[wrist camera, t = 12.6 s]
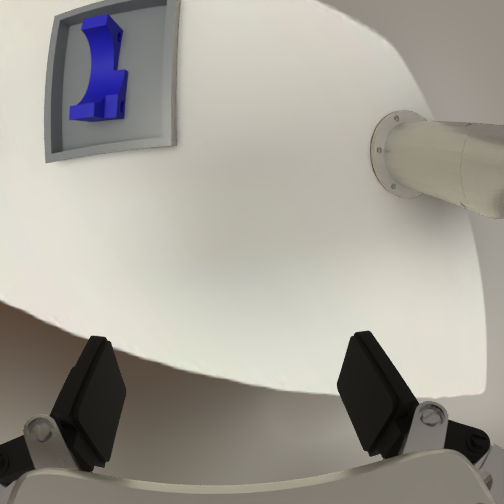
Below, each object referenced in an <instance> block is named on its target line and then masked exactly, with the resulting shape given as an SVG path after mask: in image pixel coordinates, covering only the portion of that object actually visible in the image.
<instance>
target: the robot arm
mask: <svg viewBox="0 0 504 504" xmlns="http://www.w3.org/2000/svg"><path fill="white" fill-rule="evenodd" d="M371 160H372V164H373V169H374V171H375V174H376V176H377V178H378V179H379V181H380V183H381V184H382V185H383V186H384V187H385V188H386V189H387V190H388V191H389V192H391V193H392V194H395V195H397V196H400V197H403V198H413V197H417V196H420V195H422V194H423V193H425V194H428V195H430V196H433V197H436V198H439V199H442V200H444V201H447V202H450V203H453V204H455V205H458V206H460V207H463V208H466V209H468V210H471V211H473V212H476V213H478V214H481V215H483V216H486V217H489V218H493V219H503V218H504V125H494V124H481V123H465V122H441V121H427V120H426V119H425V118H424V117H422V116H420V115H419V114H417V113H414V112H412V111H397V112H393V113H391V114H389V115H387V116H386V117H385V118H384V119H383V120H382V121H381V122H380V123H379V125H378V126H377V128H376V130H375V132H374V135H373V139H372V143H371ZM337 389H338V392H339V394H340V396H341V398H342V401H343V403H344V405H345V408H346V410H347V412H348V415H349V417H350V419H351V422H352V424H353V426H354V428H355V431H356V433H357V436H358V438H359V440H360V443H361V445H362V447H363V450H364V451H368V453H369V456H375V455H378V454H381V455H382V457H383V460H382V461H378V462H375V463H372V464H368V465H364V466H360V467H356V468H352V469H348V470H344V471H340V472H335V473H331V474H326V475H320V476H315V477H309V478H303V479H297V480H290V481H282V482H273V483H263V484H250V485H228V486H227V485H226V486H201V485H200V486H199V485H177V484H164V483H153V482H146V481H138V480H131V479H124V478H117V477H112V476H106V475H101V474H96V473H93V472H92V471H93V469H94V466H98V467H103V468H104V467H105V463H106V462H108V461H109V460H110V457H111V452H112V448H113V443H114V439H115V435H116V431H117V427H118V423H119V419H120V415H121V412H122V408H123V404H124V400H125V397H126V387H125V384H124V382H123V379H122V376H121V373H120V370H119V367H118V364H117V361H116V357H115V354H114V351H113V347H112V344H111V342H110V341H107V339H106V337H101V336H91V337H90V338H89V340H88V342H87V344H86V346H85V348H84V350H83V352H82V354H81V356H80V357H79V359H78V361H77V363H76V366H74V367H73V368H72V369H71V371H70V373H69V375H68V377H67V379H66V381H65V383H64V385H63V388H62V390H61V392H60V394H59V396H58V398H57V400H56V402H55V405H54V407H53V409H52V411H51V414H50V416H48V415H44V414H39V415H35V416H33V417H31V418H30V419H29V420H28V421H27V422H26V424H25V425H24V429H23V432H24V435H22V436H20V437H18V438H15V439H13V440H11V441H8V442H6V443H4V444H1V445H0V504H504V449H502V448H501V447H499V446H498V445H496V444H493V445H490V439H489V437H488V435H487V434H486V433H485V432H484V431H482V430H480V429H477V428H474V427H470V426H467V425H464V424H460V423H457V422H454V421H451V420H448V414H447V411H446V410H445V408H444V407H443V406H441V405H440V404H438V403H436V402H432V401H426V402H423V403H421V404H419V403H418V401H417V399H416V398H415V396H414V395H413V393H412V392H411V390H410V389H409V387H408V386H407V384H406V383H405V381H404V380H403V378H402V377H401V375H400V374H399V372H398V371H397V369H396V368H395V366H394V365H393V363H392V362H391V360H390V359H389V357H388V356H387V355H386V353H385V352H384V350H383V349H382V347H381V346H380V344H379V343H378V342H377V340H376V339H375V337H374V336H373V334H372V333H371V332H370V331H362V332H356V333H355V334H354V336H351V338H350V341H349V344H348V348H347V352H346V355H345V358H344V362H343V365H342V368H341V372H340V375H339V378H338V381H337Z"/></svg>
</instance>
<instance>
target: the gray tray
mask: <svg viewBox="0 0 504 504" xmlns="http://www.w3.org/2000/svg"><path fill="white" fill-rule="evenodd" d="M179 13H180V0H104V1H100V2H97V3H93V4H90V5H86V6H83V7H80V8H77V9H74V10H71V11H68V12H65V13H62V14H59V15H57V16H55V18H54V23H53V28H52V34H51V40H50V46H49V54H48V62H47V72H46V84H45V104H44V140H45V161H46V163H51V162H56V161H61V160H66V159H72V158H77V157H83V156H89V155H95V154H102V153H109V152H116V151H124V150H133V149H142V148H152V147H163V146H175V145H177V143H176V74H177V46H178V28H179ZM105 14H109V15H110V17H111V18H112V19H113V20H114V21H115V22H116V23H117V24H118V25H119V27H120V28H121V29H122V30H123V36H122V41H121V48H120V54H119V61H118V69H117V70H123V69H125V70H127V71H128V81H127V91H126V102H125V116H124V119H117V120H106V121H96V122H86V121H76V120H69V112H70V106H73V105H77V104H78V103H79V102H80V101H81V100H82V99H83V97H84V95H85V93H86V90H87V88H88V84H89V80H90V73H91V52H90V46H89V43H88V40H87V37H86V36H85V34H84V33H83V32H82V31H81V28H82V23H83V19H86V18H90V17H95V16H100V15H105Z"/></svg>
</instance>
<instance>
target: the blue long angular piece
mask: <svg viewBox="0 0 504 504" xmlns="http://www.w3.org/2000/svg"><path fill="white" fill-rule="evenodd" d="M81 31H82V32H83V33H84V34H85V36H86V37H87V40H88V43H89V46H90V52H91V73H90V80H89V84H88V88H87V90H86V93H85V95H84V97H83V99H82V100H81V101H80V102H79V103H78V104H77V105H73V106H70V112H69V120H76V121H86V122H96V121H106V120H117V119H124V116H125V102H126V91H127V81H128V71H127V70H125V69H123V70H117V69H118V61H119V54H120V48H121V41H122V36H123V30H122V29H121V28H120V27H119V25H118V24H117V23H116V22H115V21H114V20H113V19H112V18H111V17H110V15H109V14H105V15H100V16H95V17H90V18H86V19H83V23H82V28H81Z"/></svg>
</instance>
